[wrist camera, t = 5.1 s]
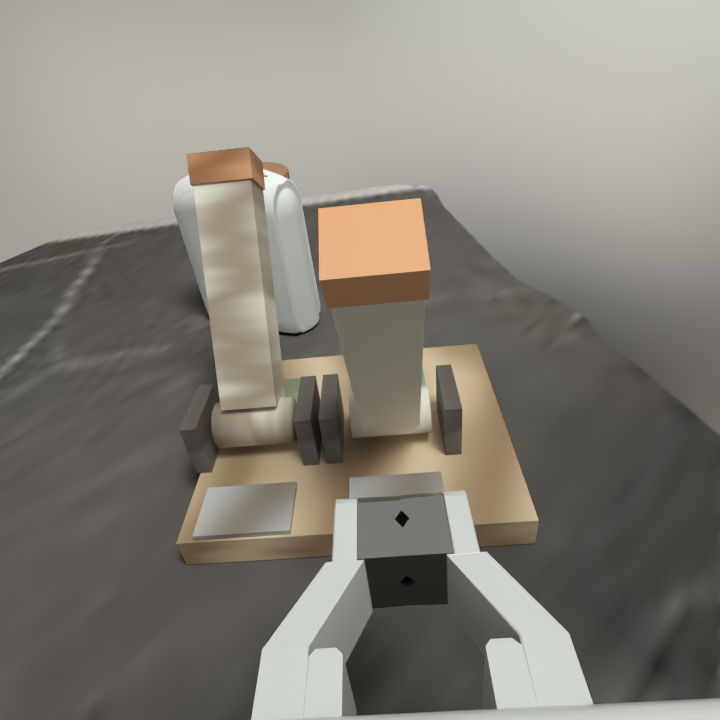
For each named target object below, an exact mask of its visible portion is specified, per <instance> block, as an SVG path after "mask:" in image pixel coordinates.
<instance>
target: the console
mask: <svg viewBox="0 0 720 720" xmlns="http://www.w3.org/2000/svg"><path fill="white" fill-rule="evenodd" d="M186 155H187V163H188V171H189V179H190V185H192V186H193V189H194V197H195V205H196V213H197V221H198V229H199V237H200V245H201V253H202V261H203V269H204V277H205V285H206V293H207V301H208V310H209V318H210V326H211V334H212V342H213V350H214V358H215V366H216V374H217V382H218V390H219V398H220V402H219V399H218V397H217V394H216V391H215V388H214V385H213V384H207V385H199V386H198V388H197V391H196V393H195V395H194V398H193V400H192V402H191V404H190V407H189V409H188V411H187V414H186V416H185V418H184V421H183V423H182V425H181V427H180V430H179V431H180V434H181V436H182V439H183V441H184V444H185V446H186V448H187V451H188V453H189V456H190V458H191V460H192V463H193V465H194V468H195V470H196V473H201V474H200V477H199V479H198V482H197V485H196V488H195V491H194V494H193V497H192V500H191V502H190V505H189V508H188V511H187V514H186V517H185V520H184V523H183V526H182V528H181V531H180V534H179V537H178V540H177V543H176V545H177V546H178V548H179V550H180V552H181V554H182V556H183V558H184V560H185V562H186V564H187V565H192V564H208V563H225V562H241V561H257V560H274V559H290V558H306V557H322V556H332V549H333V530H334V510H335V503H336V499H351V498H368V497H389V496H400V495H409V494H420V493H432V492H442V493H443V492H449V491H462V490H464V491H465V492H466V494H467V498H468V502H469V506H470V511H471V515H472V519H473V524H474V528H475V532H476V537H477V541H478V545H479V547H485V546H501V545H518V544H534V543H535V542H536V535H537V529H538V522H539V520H538V517H537V514H536V511H535V508H534V506H533V503H532V500H531V497H530V494H529V491H528V488H527V486H526V483H525V480H524V477H523V474H522V471H521V468H520V466H519V463H518V460H517V457H516V454H515V451H514V449H513V446H512V443H511V440H510V437H509V434H508V431H507V429H506V426H505V423H504V420H503V417H502V414H501V411H500V409H499V406H498V403H497V400H496V397H495V394H494V392H493V389H492V386H491V383H490V380H489V377H488V374H487V372H486V369H485V366H484V363H483V360H482V357H481V354H480V352H479V349H478V346H477V344H470V345H458V346H446V347H434V348H423V360H422V384H421V386H427V387H428V392H429V399H430V409H431V424H432V430H431V432H428V433H415V434H402V435H389V436H375V437H362V438H353V437H352V433H351V426H350V415H349V392H353V391H352V387H351V383H350V379H349V376H348V372H347V368H346V364H345V360H344V356H343V355H340V356H329V357H317V358H305V359H293V360H281V350H280V341H279V332H278V323H277V314H276V304H275V295H274V286H273V277H272V268H271V259H270V249H269V240H268V231H267V222H266V213H265V203H264V194H263V190H265V182H264V173H263V163H262V161H261V160H260V159H259V158H258V157H257V156H256V154H255V153H254V152H253V151H252V150H251V149H250V148H249V147H246V148H236V149H227V150H218V151H209V152H200V153H192V154H186Z"/></svg>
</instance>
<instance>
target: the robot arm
mask: <svg viewBox="0 0 720 720" xmlns="http://www.w3.org/2000/svg"><path fill="white" fill-rule="evenodd" d="M409 602H410V603H409ZM436 604H448V607H449V608H450V610H451V611H452V612H453V614H454V615H455V616H456V618H457V619H458V621H459V622H460V623H461V625H462V626H463V627H464V629H465V630H466V631H467V633H468V634H469V635H470V637H471V638H472V639H473V641H474V642H475V644H476V645H477V646H478V648H479V649H480V650H481V652H482V653H483V654H484V656H485V661H484V675H483V689H482V702H481V703H482V709H483V710H464V711H443V712H423V713H402V714H382V715H361V716H356V706H355V702H354V698H353V694H352V690H351V686H350V681H349V677H348V673H347V669H346V665H345V664H346V662H347V660H348V658H349V656H350V654H351V652H352V650H353V648H354V646H355V644H356V642H357V640H358V639H359V637H360V635H361V633H362V631H363V629H364V627H365V625H366V623H367V621H368V619H369V617H370V615H371V613H372V611H373V610H372V609H374V608H385V607H397V606H408V605H436ZM251 720H720V698H712V699H691V700H670V701H650V702H629V703H608V704H593V702H592V699H591V696H590V693H589V690H588V687H587V685H586V682H585V679H584V676H583V673H582V670H581V667H580V664H579V661H578V658H577V655H576V653H575V650H574V647H573V644H572V641H571V638H570V635H569V633H568V632H567V631H566V630H565V629H564V628H563V627H562V626H561V625H560V624H559V623H558V622H557V621H556V620H555V619H554V618H553V617H552V616H551V615H550V614H549V613H548V612H547V611H546V610H545V609H544V608H543V607H542V606H541V605H540V604H539V603H538V602H537V601H536V600H535V599H534V598H533V597H532V596H531V595H530V594H529V593H528V592H527V591H526V590H525V589H524V588H523V587H522V586H521V585H520V584H519V583H518V582H517V581H516V580H515V579H514V578H513V577H512V576H511V575H510V574H509V573H508V572H507V571H506V570H505V569H504V568H503V567H502V566H501V565H500V564H499V563H498V562H497V561H496V560H495V559H494V558H493V557H491V556H490V555H489V554H488V553H487V552H480V550H479V545H478V541H477V537H476V532H475V528H474V524H473V519H472V515H471V511H470V506H469V502H468V498H467V494H466V492H465V491H464V490H462V491H449V492H443V493H442V492H432V493H420V494H409V495H400V496H389V497H368V498H351V499H336V503H335V510H334V530H333V549H332V562H325V564H324V565H323V567H322V568H321V569H320V571H319V572H318V573H317V575H316V576H315V578H314V579H313V580H312V582H311V583H310V584H309V586H308V587H307V589H306V590H305V591H304V593H303V594H302V596H301V597H300V598H299V600H298V601H297V602H296V604H295V605H294V607H293V608H292V609H291V611H290V612H289V613H288V615H287V616H286V618H285V619H284V620H283V622H282V623H281V624H280V626H279V627H278V629H277V630H276V631H275V633H274V634H273V635H272V637H271V638H270V640H269V641H268V642H267V644H266V645H265V646H264V648H263V649H262V654H261V661H260V667H259V673H258V680H257V686H256V692H255V699H254V705H253V711H252V718H251Z"/></svg>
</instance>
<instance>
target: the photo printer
mask: <svg viewBox="0 0 720 720" xmlns="http://www.w3.org/2000/svg"><path fill="white" fill-rule="evenodd" d="M263 173H264V182H265V190H263V194H264V203H265V213H266V222H267V231H268V240H269V249H270V259H271V268H272V277H273V286H274V295H275V304H276V314H277V323H278V332H285V333H303V332H306V331H308V330H310V329H311V328H313V327H314V326H315V325H316V324H317V323H318V321H319V313H320V302H319V296H318V290H317V285H316V280H315V274H314V269H313V263H312V258H311V252H310V247H309V241H308V235H307V230H306V224H305V219H304V213H303V208H302V202H301V198H300V195H299V192H298V190H297V188H296V186H295V184H294V183H293V182H292V181H291V180H289V179H287V178H285V177H283V176H281V175H279V174H276V173H274V172H271V171H268V170H264V169H263ZM173 207H174V212H175V215H176V218H177V221H178V224H179V228H180V231H181V234H182V237H183V240H184V243H185V246H186V249H187V252H188V256H189V259H190V262H191V265H192V268H193V271H194V274H195V277H196V280H197V283H198V286H199V289H200V292H201V295H202V298H203V301H204V304H205V307H206V310H207V312H208V314H209V310H208V301H207V293H206V285H205V277H204V269H203V261H202V253H201V245H200V237H199V229H198V221H197V213H196V205H195V197H194V189H193V186H192V185H190V179H189V175H188V176H186V177H184V178H183V179H181V180H180V181H178V182H177V184H176V186H175V188H174V192H173Z"/></svg>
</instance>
